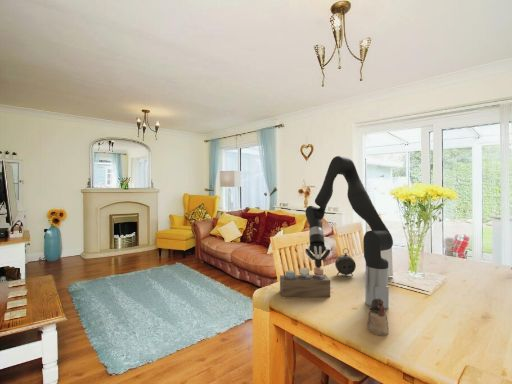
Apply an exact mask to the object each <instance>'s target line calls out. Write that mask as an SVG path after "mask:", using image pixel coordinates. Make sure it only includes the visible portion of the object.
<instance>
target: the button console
mask: <svg viewBox="0 0 512 384" xmlns="http://www.w3.org/2000/svg"><path fill="white" fill-rule="evenodd" d="M279 291H280V295H281V298H282V297H300V298H330V297H331V279H330V278H329V276H328V275H327V274H323V275H315V274H309V275H307V276H303V275H300V274H295V278H293V279H288V278H286V274H285V275H283V274H282V275H281V274H280V275H279Z"/></svg>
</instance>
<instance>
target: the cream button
mask: <svg viewBox="0 0 512 384" xmlns="http://www.w3.org/2000/svg"><path fill="white" fill-rule="evenodd" d="M299 275H303V276H307V275H310V269H309V268H308V267H301V268H300V269H299Z"/></svg>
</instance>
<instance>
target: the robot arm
mask: <svg viewBox="0 0 512 384" xmlns="http://www.w3.org/2000/svg"><path fill="white" fill-rule="evenodd" d="M338 175H342V176H343V177H344V179H345V180H346V183H347V195H346V196H347V199H348V202H349V205H350V207H352V210H353V211H354V212H355V213H356V214H357V215H358V216H359V217H360V218H361V219H363V220H364V221H365V222H366V223H367V225H368V226H369V228H370V230H367V231H366V232H365V233H364V235H363V238H362V239H363V242H362V243H363V257H364V261H365V288H364V289H365V295H364V296H365V298H364V300H365V304H366V306H369V308H371V304H372V300H374V299H376V298H380V299H381V300H382V301H383V306H384V310H385V309H389V301H390V300H389V299H390V298H389V296H390V295H389V294H390V292H389V291H390V288H389V277H388V261H387V260H386V259H384V258H381V251H383V250H389V249H390V248H391V247H392V248H393V245H394V240H393V236H392V234H391V232H390V230H388V229H389V228H387V226H386V224H385V223H384V222H383V220H382V218H381V217H380V215H379V213H378V212H377V210H376V207H375V206H374V204H373V202H372V200H371V198H370V196H369V194H368V192H367V190H366V189H365V186H364V184H363V182H362V180H361V178H360V176H359V173H358V170H357V168H356V164H355V163H354V161H353V160H352V158H349V157H345V156H341V155H337V156H334V157H333V158H332V159H331V161H330V163H329V166H328V168H327V170H326V174H325V177H324V180H323V183H322V185H321V187H320V190H319V191H318V194H317V196H316V197H315V199H314V204H316V206H315V205H314V206H313V205H309V206H307V207H306V208H305V218H306V220H307V222H308V227H309V231H308V233H309V235H308V237H309V247H308V248H305V249H304V251H305V254H306V255H307V256H308V258H310V259H311V260H312V261H314V262H315V263H314V264H315V268H322V264H323V263H322V261H325V259H326V258H327V257H328V256H329V255H330V253H331V249H329V248H327V247H326V245H325V244H326V243H325V235H324V230H323V222H322V220H323V219H324V217H325V212H326V209H327V206H328V204H329V202H330V200H331V198H332V195H333V193H334V182H335V180H336V178H337V176H338ZM317 206H318V207H317Z"/></svg>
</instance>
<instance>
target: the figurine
mask: <svg viewBox="0 0 512 384" xmlns="http://www.w3.org/2000/svg"><path fill="white" fill-rule="evenodd" d="M368 309H369V312H368V317H367V323H366V329H367V330H368V332H369V333H371V334H373V335H376V336H382V335H383V336H387V335H388V334H389V322H388V315H387V312H386V311H385V309H384V306H383V301H382V300H381V299H380V298H376V299H374V300H372V304H371V307H369V308H368Z"/></svg>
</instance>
